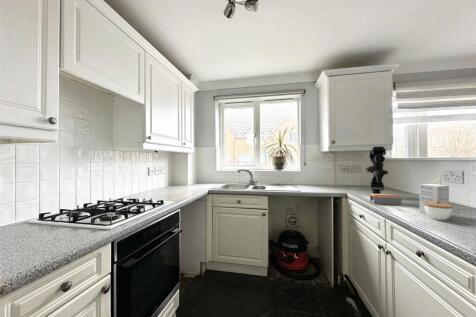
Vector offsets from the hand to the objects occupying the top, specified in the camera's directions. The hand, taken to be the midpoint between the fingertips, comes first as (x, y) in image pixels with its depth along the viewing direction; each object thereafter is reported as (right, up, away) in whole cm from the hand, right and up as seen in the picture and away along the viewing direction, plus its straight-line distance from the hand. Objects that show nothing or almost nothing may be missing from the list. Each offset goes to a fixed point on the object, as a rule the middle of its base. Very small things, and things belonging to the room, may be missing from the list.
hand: (378, 183), depth 156 cm
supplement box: (+5, -13, -39) cm, 42 cm away
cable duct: (-4, -13, -12) cm, 18 cm away
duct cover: (-4, -8, -12) cm, 15 cm away
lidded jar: (-2, -13, -48) cm, 50 cm away
